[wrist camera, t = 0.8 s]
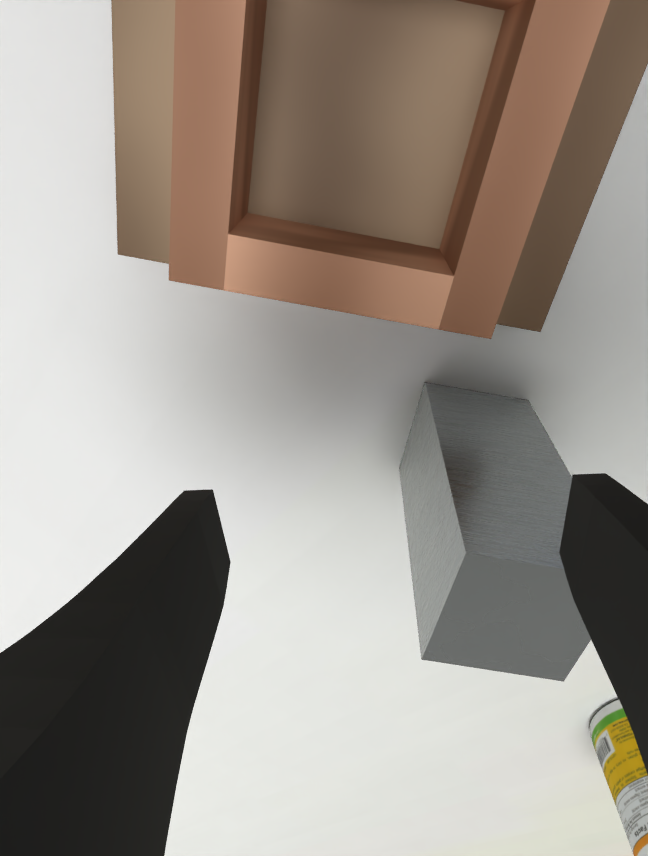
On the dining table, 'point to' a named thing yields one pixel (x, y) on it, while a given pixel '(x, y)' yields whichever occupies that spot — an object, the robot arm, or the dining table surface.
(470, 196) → the socket station
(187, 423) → the dining table surface
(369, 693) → the dining table surface
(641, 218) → the dining table surface
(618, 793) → the supplement bottle
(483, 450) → the steel peg
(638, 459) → the dining table surface
